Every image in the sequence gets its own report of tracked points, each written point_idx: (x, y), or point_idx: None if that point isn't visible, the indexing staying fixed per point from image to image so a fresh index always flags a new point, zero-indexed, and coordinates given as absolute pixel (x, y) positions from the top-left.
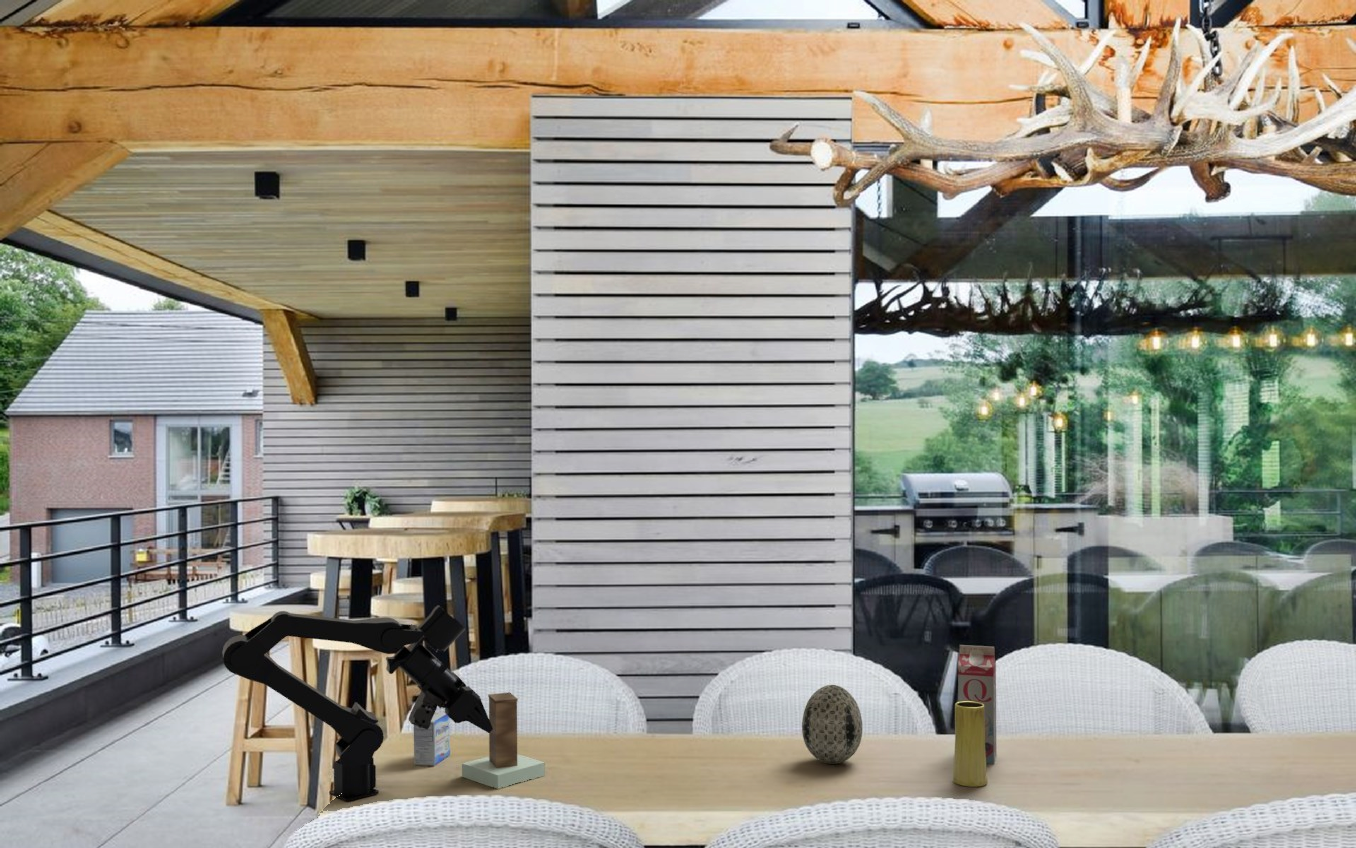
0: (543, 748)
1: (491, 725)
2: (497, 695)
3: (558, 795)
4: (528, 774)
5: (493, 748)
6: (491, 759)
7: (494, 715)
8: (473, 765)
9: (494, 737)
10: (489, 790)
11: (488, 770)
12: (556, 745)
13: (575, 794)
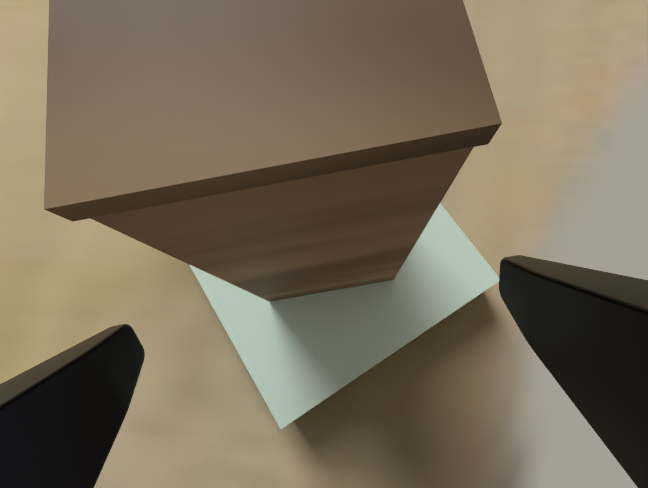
0: (39, 109)
1: (547, 261)
2: (158, 88)
3: (581, 97)
4: None
5: (343, 276)
6: (304, 292)
7: (383, 213)
8: (326, 377)
9: (370, 258)
10: (489, 320)
11: (420, 314)
12: (24, 70)
13: (575, 49)
